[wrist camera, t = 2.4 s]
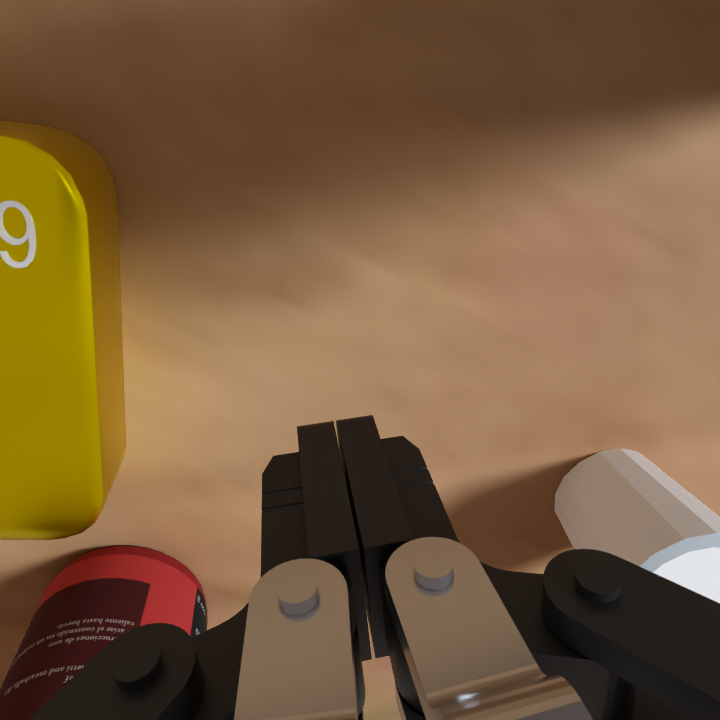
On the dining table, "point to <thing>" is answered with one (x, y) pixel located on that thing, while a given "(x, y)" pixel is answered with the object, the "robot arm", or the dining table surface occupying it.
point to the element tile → (57, 334)
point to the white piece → (641, 519)
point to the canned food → (97, 618)
